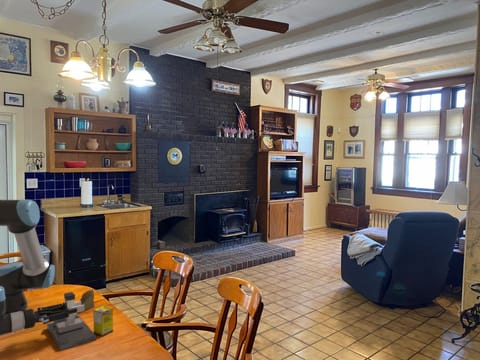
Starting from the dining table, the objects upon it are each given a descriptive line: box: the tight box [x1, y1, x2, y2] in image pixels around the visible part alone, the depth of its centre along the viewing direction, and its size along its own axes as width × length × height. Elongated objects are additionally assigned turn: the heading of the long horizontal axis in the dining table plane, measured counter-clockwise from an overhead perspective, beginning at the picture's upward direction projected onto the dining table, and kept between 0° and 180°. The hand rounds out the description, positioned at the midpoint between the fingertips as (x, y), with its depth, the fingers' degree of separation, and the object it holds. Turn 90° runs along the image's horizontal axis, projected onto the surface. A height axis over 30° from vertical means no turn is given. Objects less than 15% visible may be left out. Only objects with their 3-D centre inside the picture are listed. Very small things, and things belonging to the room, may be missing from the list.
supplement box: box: [92, 305, 114, 337], centre depth 161 cm, size 6×6×11 cm
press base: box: [46, 313, 97, 351], centre depth 159 cm, size 24×14×5 cm, turn 39°
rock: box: [77, 289, 95, 314], centre depth 186 cm, size 11×9×10 cm
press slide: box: [56, 291, 84, 333], centre depth 160 cm, size 5×10×15 cm, turn 129°
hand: (82, 305), depth 163 cm, fingers closed on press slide, 4 cm apart
